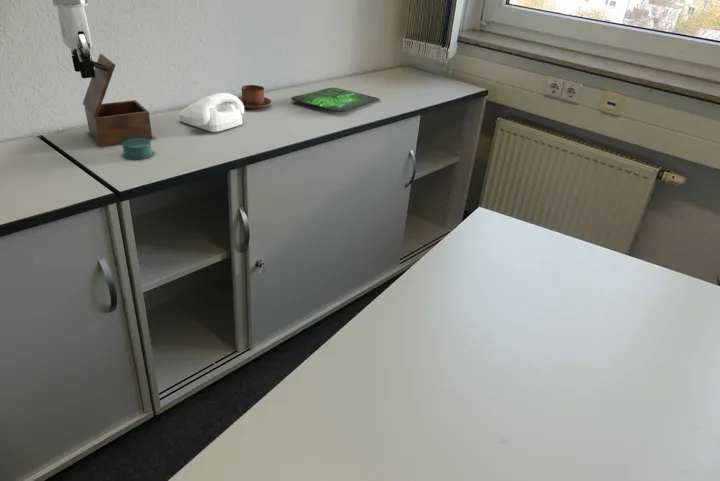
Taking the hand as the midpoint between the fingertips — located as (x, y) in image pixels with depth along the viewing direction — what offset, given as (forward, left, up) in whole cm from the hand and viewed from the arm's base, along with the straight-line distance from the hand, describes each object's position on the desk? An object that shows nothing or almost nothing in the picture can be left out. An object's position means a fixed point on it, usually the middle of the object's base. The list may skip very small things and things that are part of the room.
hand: (85, 73), depth 139 cm
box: (+5, +4, -18) cm, 19 cm away
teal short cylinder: (+14, -9, -18) cm, 24 cm away
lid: (+3, +2, -3) cm, 5 cm away
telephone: (+27, +18, -18) cm, 37 cm away
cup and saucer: (+37, +37, -18) cm, 55 cm away
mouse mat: (+65, +48, -17) cm, 83 cm away
